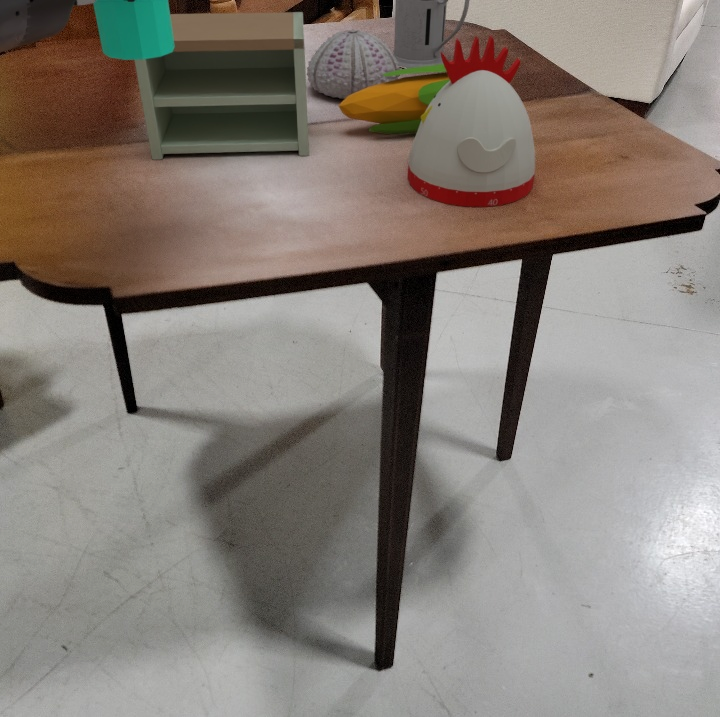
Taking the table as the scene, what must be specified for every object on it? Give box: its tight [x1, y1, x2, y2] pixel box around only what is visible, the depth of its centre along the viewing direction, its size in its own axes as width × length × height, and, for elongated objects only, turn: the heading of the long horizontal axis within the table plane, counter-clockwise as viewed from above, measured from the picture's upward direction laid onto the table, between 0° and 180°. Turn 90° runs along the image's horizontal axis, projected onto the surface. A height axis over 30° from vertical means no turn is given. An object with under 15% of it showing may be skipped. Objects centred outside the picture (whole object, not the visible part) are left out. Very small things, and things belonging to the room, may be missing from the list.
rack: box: [134, 11, 310, 161], centre depth 87 cm, size 18×12×13 cm, turn 94°
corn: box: [338, 64, 450, 135], centre depth 92 cm, size 7×8×20 cm
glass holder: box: [393, 0, 470, 68], centre depth 111 cm, size 9×14×15 cm, turn 39°
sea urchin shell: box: [306, 29, 401, 100], centre depth 104 cm, size 13×14×8 cm
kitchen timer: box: [407, 35, 536, 208], centre depth 77 cm, size 14×14×15 cm
